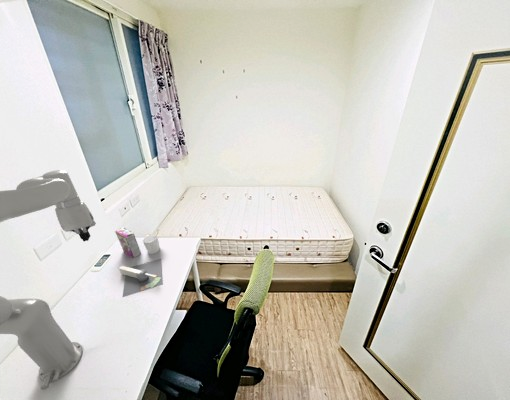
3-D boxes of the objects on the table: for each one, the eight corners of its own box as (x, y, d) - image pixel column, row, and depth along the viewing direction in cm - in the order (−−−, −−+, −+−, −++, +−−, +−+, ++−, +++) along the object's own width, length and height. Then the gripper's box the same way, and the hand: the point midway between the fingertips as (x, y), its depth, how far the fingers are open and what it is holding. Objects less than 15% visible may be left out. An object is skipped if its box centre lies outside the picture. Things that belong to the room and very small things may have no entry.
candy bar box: (123, 253, 133) (114, 231, 125) (131, 248, 136) (123, 226, 128) (134, 259, 127) (125, 237, 119) (142, 254, 131) (134, 232, 123)
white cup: (163, 250, 133) (159, 237, 128) (150, 257, 128) (146, 244, 123) (157, 245, 138) (153, 232, 133) (145, 251, 133) (140, 238, 128)
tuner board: (163, 286, 110) (162, 284, 109) (123, 299, 104) (122, 297, 103) (161, 260, 126) (161, 258, 125) (127, 269, 120) (126, 268, 120)
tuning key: (161, 278, 112) (159, 272, 110) (154, 286, 108) (152, 280, 106) (126, 269, 119) (124, 263, 117) (119, 276, 114) (116, 270, 112)
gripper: (40, 210, 80) (63, 249, 89) (88, 202, 85) (105, 239, 94) (48, 201, 87) (68, 238, 95) (92, 194, 91) (108, 230, 100)
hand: (86, 239), depth 95 cm, fingers closed
